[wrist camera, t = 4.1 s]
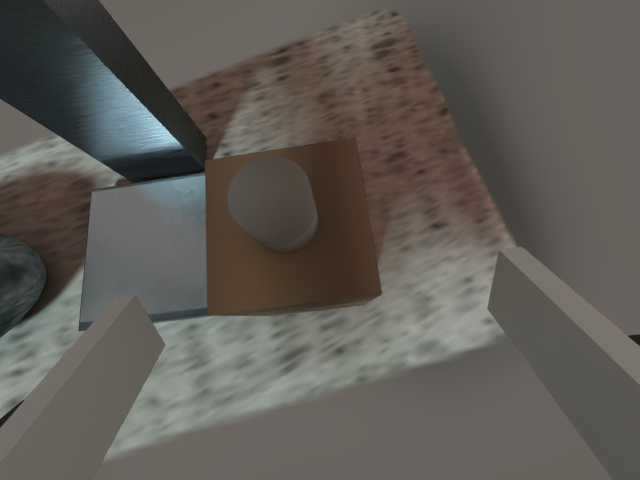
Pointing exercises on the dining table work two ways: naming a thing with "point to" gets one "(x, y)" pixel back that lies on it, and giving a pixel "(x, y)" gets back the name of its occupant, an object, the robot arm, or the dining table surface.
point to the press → (115, 152)
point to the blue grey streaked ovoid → (18, 281)
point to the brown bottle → (288, 232)
